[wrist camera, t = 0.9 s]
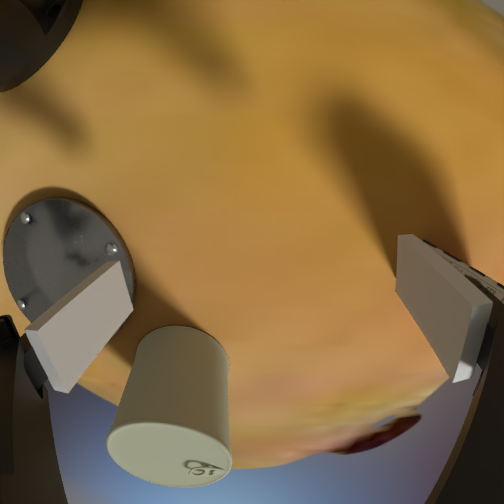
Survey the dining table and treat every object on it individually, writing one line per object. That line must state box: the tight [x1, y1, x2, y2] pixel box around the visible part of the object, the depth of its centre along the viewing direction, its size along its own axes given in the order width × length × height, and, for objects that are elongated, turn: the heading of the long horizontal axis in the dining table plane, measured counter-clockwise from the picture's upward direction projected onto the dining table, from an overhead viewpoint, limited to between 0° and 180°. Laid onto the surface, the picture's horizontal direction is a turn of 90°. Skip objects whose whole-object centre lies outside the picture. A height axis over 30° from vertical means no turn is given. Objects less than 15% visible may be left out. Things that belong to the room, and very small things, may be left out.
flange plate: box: [3, 197, 136, 337], centre depth 24 cm, size 14×14×1 cm
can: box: [106, 326, 232, 487], centre depth 23 cm, size 9×9×12 cm
